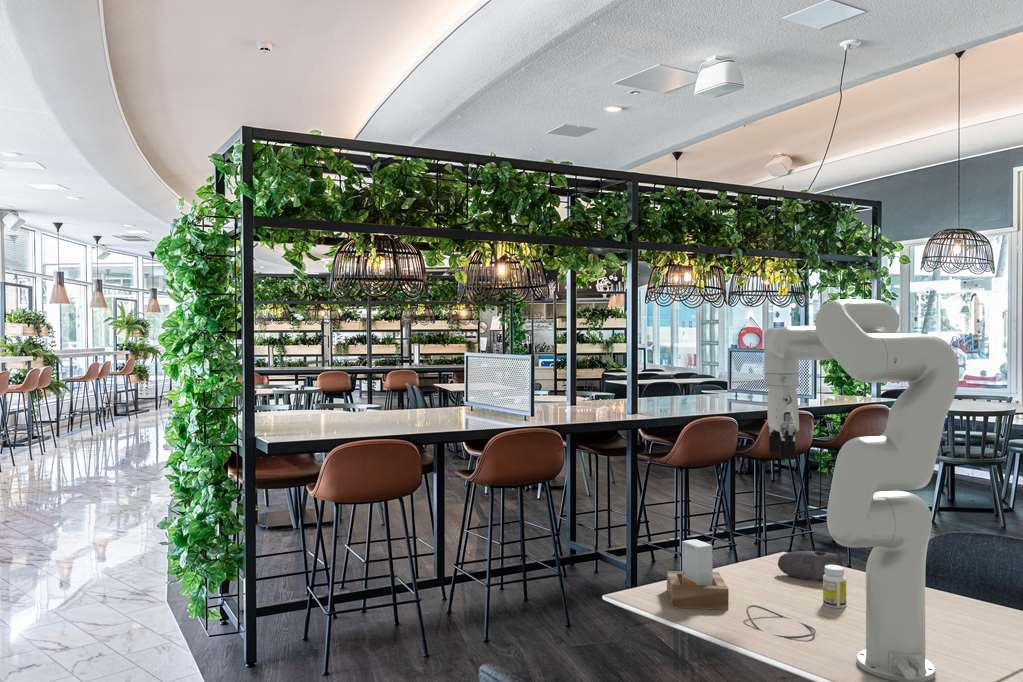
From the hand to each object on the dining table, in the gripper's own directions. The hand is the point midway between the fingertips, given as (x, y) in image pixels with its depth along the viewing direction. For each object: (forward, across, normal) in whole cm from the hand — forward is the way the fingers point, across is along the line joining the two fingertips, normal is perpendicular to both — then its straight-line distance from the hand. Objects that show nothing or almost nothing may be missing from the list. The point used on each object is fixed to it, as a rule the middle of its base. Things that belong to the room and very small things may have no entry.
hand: (781, 455), depth 175 cm
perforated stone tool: (+33, +14, -10) cm, 37 cm away
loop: (+33, -19, +5) cm, 38 cm away
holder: (+32, -4, +20) cm, 38 cm away
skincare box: (+32, -4, +20) cm, 37 cm away
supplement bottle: (+32, -5, -10) cm, 34 cm away
